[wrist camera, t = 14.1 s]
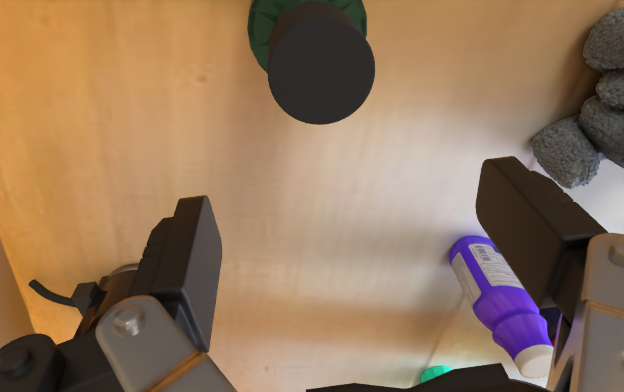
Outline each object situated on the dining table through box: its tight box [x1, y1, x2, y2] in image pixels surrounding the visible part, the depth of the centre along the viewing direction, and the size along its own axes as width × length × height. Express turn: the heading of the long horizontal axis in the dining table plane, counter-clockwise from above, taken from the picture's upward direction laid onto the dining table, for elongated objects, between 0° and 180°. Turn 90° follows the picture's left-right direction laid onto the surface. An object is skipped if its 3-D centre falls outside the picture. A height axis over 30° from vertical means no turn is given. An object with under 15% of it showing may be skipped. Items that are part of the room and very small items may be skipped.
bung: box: [268, 1, 375, 125], centre depth 21 cm, size 5×5×6 cm
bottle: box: [449, 236, 554, 378], centre depth 47 cm, size 7×6×17 cm
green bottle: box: [247, 0, 367, 73], centre depth 28 cm, size 7×7×17 cm
